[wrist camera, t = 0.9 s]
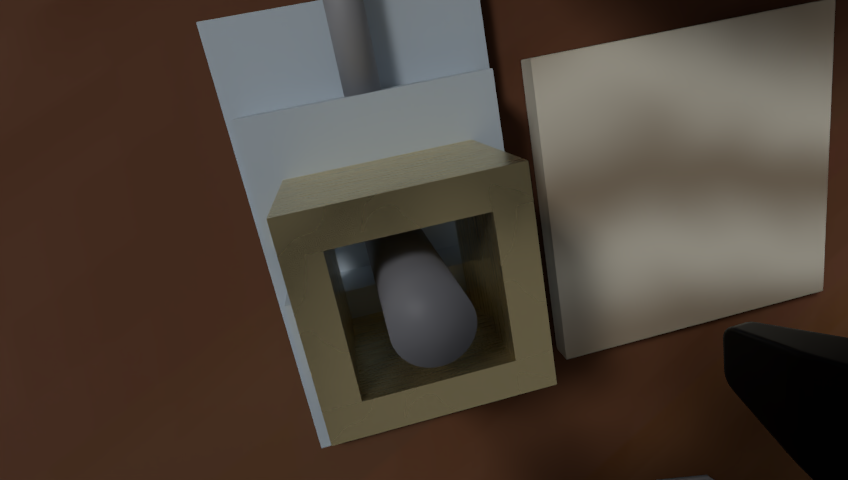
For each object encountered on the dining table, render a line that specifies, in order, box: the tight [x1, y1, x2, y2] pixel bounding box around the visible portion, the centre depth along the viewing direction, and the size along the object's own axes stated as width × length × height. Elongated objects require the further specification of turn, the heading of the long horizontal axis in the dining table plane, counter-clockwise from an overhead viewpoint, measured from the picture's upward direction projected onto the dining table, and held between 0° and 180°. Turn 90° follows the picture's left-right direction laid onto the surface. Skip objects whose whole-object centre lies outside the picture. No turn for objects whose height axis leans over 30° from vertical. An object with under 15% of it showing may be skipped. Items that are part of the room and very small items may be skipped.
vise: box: [196, 0, 504, 448], centre depth 16 cm, size 20×9×9 cm, turn 11°
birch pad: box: [521, 0, 835, 359], centre depth 22 cm, size 12×12×1 cm
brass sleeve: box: [266, 140, 557, 446], centre depth 15 cm, size 6×6×5 cm
